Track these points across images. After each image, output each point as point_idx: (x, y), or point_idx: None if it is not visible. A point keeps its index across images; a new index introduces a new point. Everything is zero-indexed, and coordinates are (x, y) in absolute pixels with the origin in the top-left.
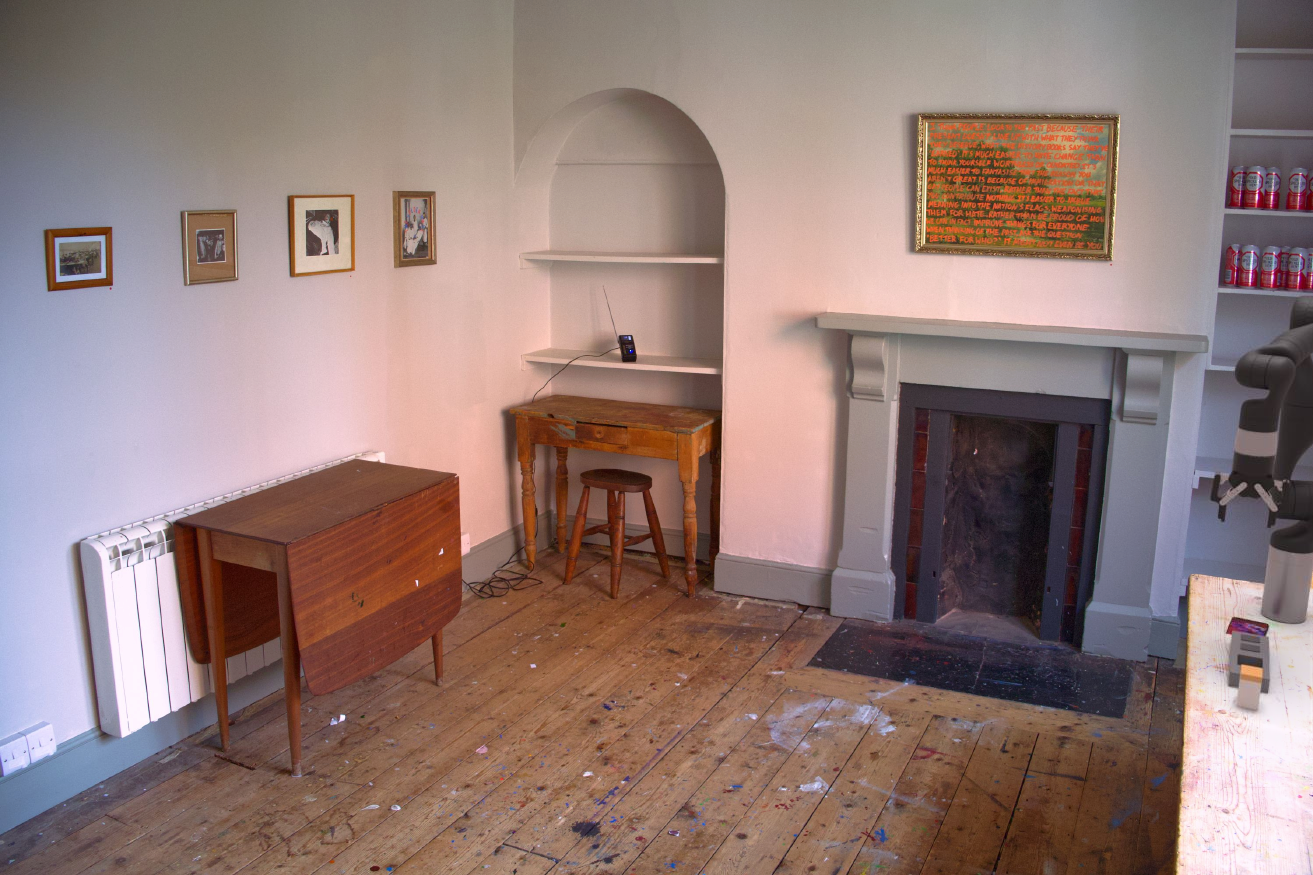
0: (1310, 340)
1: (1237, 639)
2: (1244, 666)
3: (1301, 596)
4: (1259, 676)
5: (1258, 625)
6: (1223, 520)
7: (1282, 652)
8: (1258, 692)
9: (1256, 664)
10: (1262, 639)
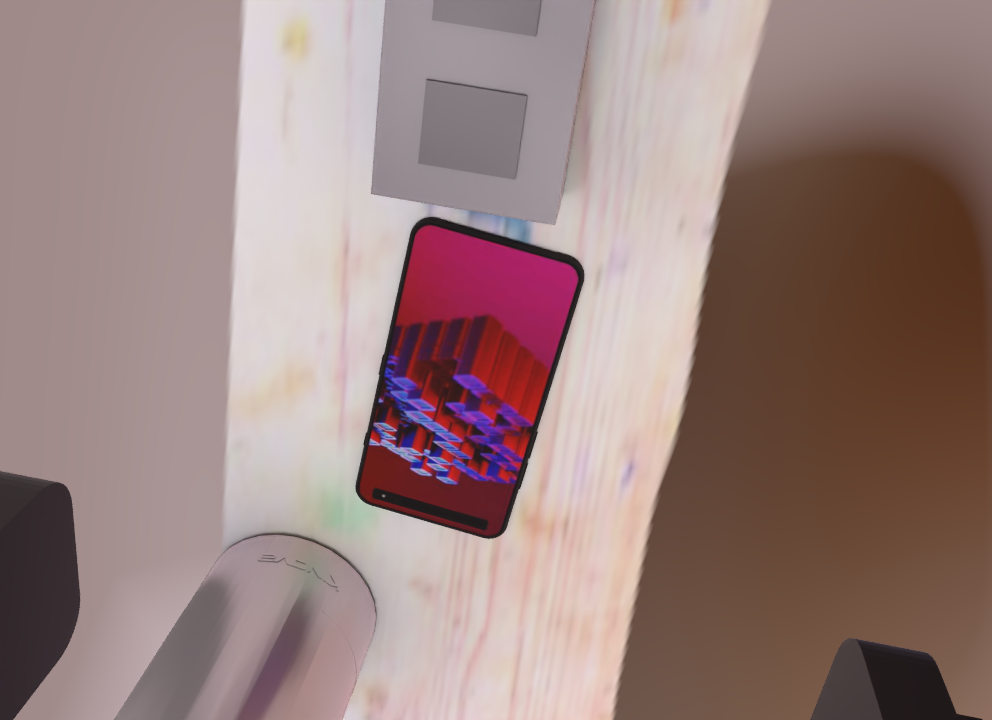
0: None
1: (545, 98)
2: None
3: (184, 629)
4: None
5: (400, 471)
6: (885, 657)
7: (321, 207)
8: None
9: None
10: (407, 144)
